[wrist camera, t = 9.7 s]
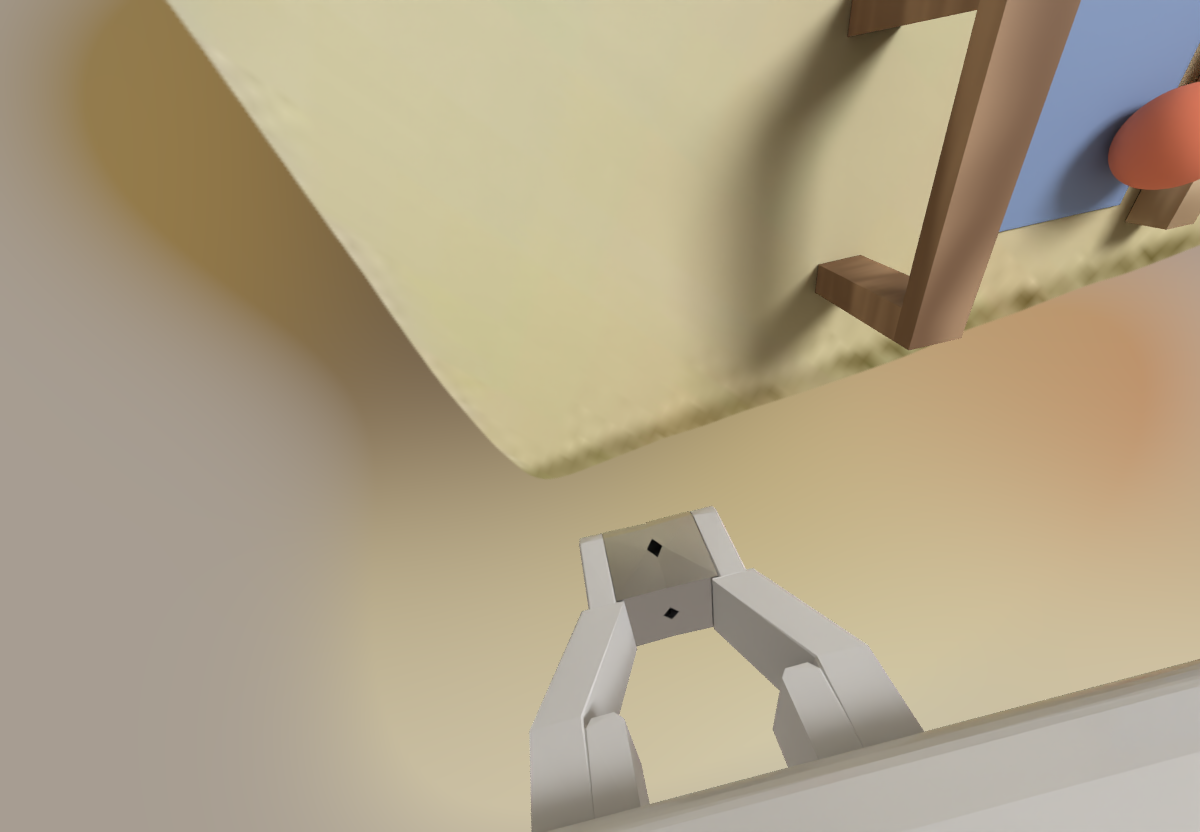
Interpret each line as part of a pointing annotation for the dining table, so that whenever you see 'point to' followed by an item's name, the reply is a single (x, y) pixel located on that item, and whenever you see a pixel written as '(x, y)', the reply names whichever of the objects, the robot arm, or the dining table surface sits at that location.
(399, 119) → the dining table surface
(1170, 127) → the ball
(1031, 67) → the bridge
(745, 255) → the dining table surface
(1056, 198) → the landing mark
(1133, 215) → the wall
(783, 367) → the dining table surface
